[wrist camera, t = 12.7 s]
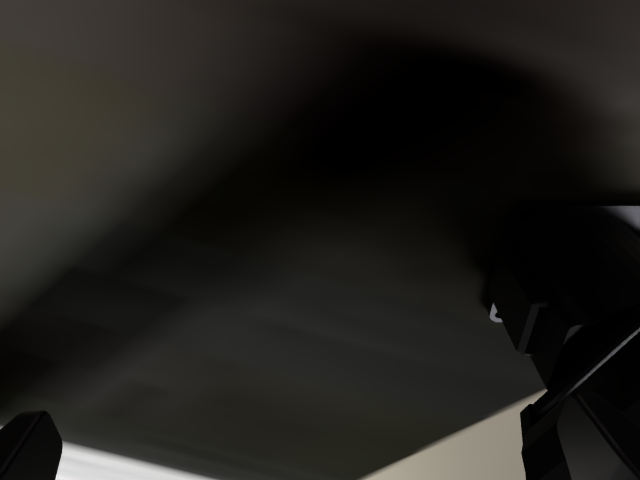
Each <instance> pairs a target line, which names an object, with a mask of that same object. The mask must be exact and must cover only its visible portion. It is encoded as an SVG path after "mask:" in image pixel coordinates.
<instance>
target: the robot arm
mask: <svg viewBox="0 0 640 480" xmlns="http://www.w3.org/2000/svg"><path fill="white" fill-rule="evenodd" d="M526 211H530V212H529V214H528V215H527V216H524V217H521V216H522V214H523V213H524V212H526ZM488 293H489V295H490V301H489V305H488V314H489V316H490V318H491V320H493V321H494V322H503V324H504V326H505V328H506V330H507V332H508V334H509V336H510V338H511V341H512V343H513V345H514V347H515V349H516V351H517V352H518V353H519V354H520V355H521V356H530V358H531V360H532V362H533V364H534V365H535V367H536V369H537V371H538V373H539V375H540V377H541V379H542V381H543V383H544V385H545V387H546V389H547V390H548V391H547V392H546V393H545V394H544V395H543V396H541V397H540V398H539V399H538V400H537V401H536V402H535V403H534V404H529V405H528V406H527V407H526V408H525V409H524V410H522V412H520V417H521V429H522V440H523V446H522V452H521V453H522V458H523V463H524V468H525V472H526V480H640V202H572V201H526V202H521V203H519V204H518V205H517V206H516V207H515V208H514V209H513V211H512V215H511V219H510V223H509V227H508V231H507V235H506V239H505V243H504V245H503V246H502V247H501V248H500V249H499V250H498V254H497V258H496V262H495V266H494V270H493V274H492V278H491V282H490V286H489V290H488ZM496 312H498V313H496ZM61 454H62V439H61V436H60V434H59V432H58V430H57V428H56V426H55V424H54V422H53V420H52V418H51V416H50V414H49V413H48V412H46V411H25V412H22V413H20V414H18V415H16V416H15V417H14V418H13V419H12V420H11V421H9V422H8V423H7V424H6V425H5V426H4V427H3V428H2V429H0V480H55V478H56V474H57V470H58V466H59V462H60V458H61Z"/></svg>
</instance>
